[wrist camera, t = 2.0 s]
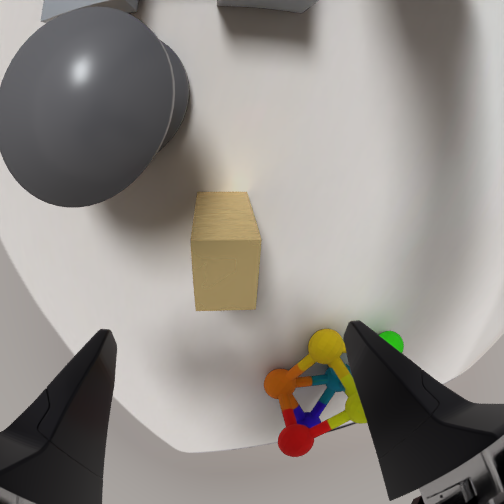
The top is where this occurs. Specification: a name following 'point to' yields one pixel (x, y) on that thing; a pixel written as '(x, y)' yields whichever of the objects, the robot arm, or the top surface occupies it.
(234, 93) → the top surface
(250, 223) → the tan wooden block
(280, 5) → the notch board
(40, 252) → the top surface
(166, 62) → the bobbin
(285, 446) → the molecular model
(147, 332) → the top surface
